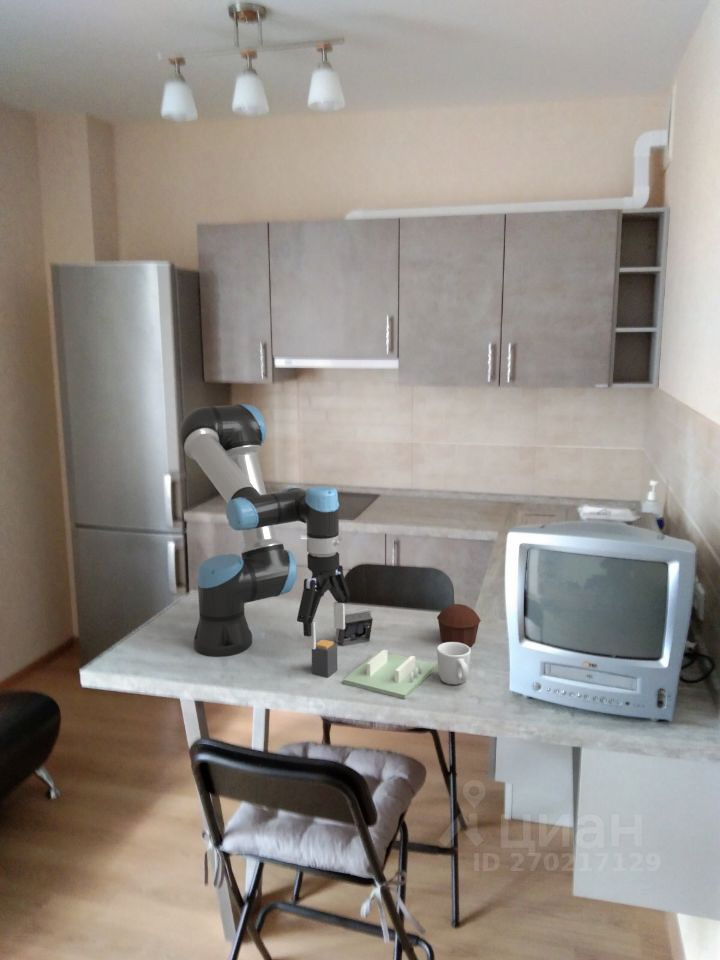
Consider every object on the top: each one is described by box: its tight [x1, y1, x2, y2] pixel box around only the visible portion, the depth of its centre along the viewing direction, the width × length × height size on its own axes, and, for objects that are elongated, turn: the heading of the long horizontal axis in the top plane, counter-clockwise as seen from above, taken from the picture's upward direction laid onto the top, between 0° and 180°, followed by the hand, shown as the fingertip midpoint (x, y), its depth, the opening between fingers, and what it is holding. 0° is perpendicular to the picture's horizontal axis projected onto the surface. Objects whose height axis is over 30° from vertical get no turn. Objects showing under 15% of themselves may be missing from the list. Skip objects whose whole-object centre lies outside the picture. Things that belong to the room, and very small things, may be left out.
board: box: [343, 649, 438, 700], centre depth 180 cm, size 16×18×4 cm
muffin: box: [436, 603, 482, 648], centre depth 199 cm, size 12×11×10 cm
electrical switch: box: [334, 607, 374, 647], centre depth 199 cm, size 9×5×9 cm, turn 113°
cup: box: [436, 642, 472, 685], centre depth 176 cm, size 11×8×8 cm
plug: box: [311, 639, 338, 679], centre depth 182 cm, size 4×4×8 cm
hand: (325, 637), depth 180 cm, fingers open, 13 cm apart
